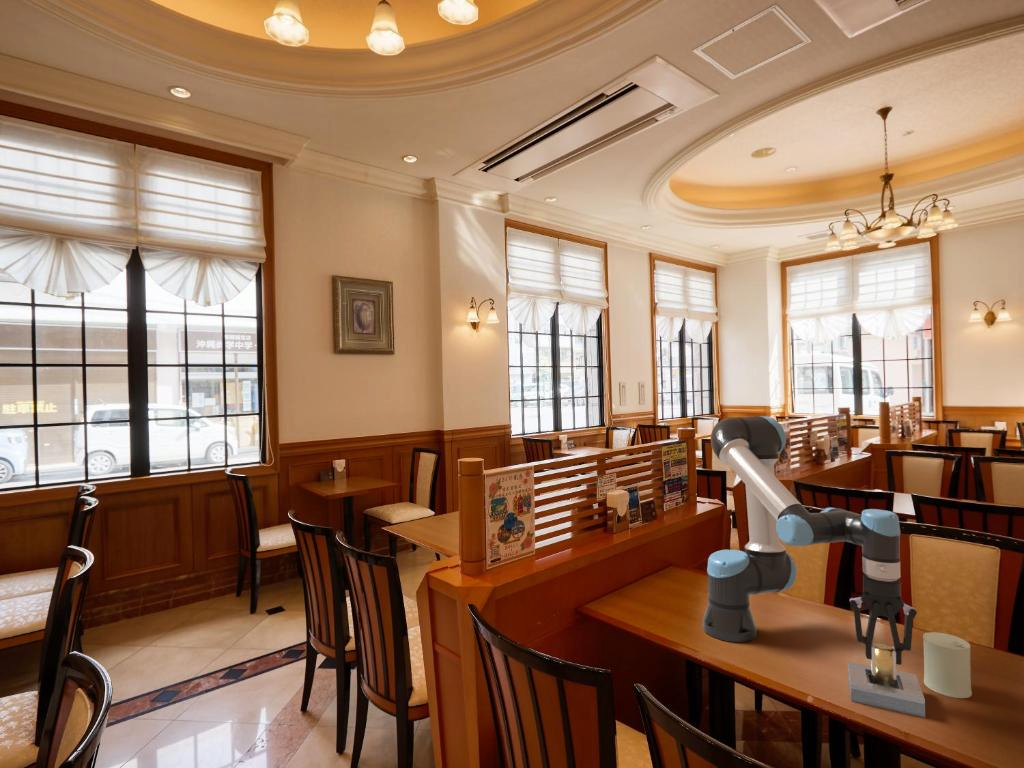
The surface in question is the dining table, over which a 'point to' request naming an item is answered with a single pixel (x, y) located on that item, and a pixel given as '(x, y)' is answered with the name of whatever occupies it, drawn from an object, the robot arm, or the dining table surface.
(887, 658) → the golden yellow cylinder
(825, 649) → the dining table surface
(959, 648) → the can
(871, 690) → the block
